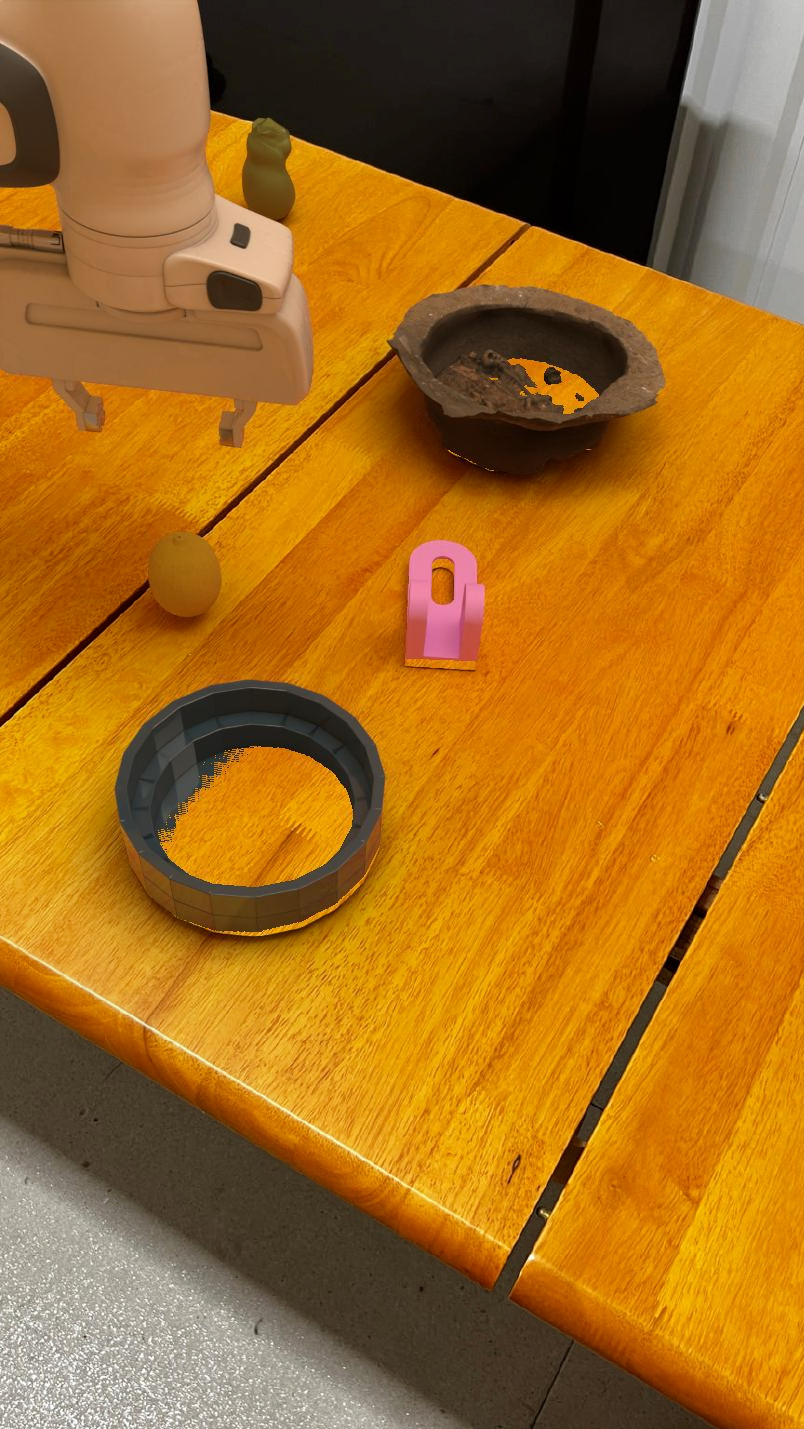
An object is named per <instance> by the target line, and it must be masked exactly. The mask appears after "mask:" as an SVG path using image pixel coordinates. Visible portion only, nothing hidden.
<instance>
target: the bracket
mask: <svg viewBox="0 0 804 1429" xmlns="http://www.w3.org/2000/svg"><path fill="white" fill-rule="evenodd" d="M437 559H448V560H450V561H451V562H453V564H454V600H453V599H452V601H451V602H450V603H447V604H440V603H436V602H435V601H434V600H433V598H432V582H433V580H432V579H433V578H432V576H433V571H432V563H433V562H434V561H435V560H437ZM408 576H409V584H408V583H407V600H408V607H407V606H406V608H407V609H406V623H407V630H406V629H405V646H406V653H405V652H404V660H405V659H429V660H455V661H477V662H478V656H479V651H480V643H481V637H482V630H483V625H484V624H483V623H484V615H485V596H486V594H485V592H486V590H485V589H486V588H485V584H484V583H478V563H477V560H476V557H475V556H474V554H473V553H472V552H471V551H470V549H468V548H466V547H465V546H464V545H462V544H460V543H457V542H454V541H450V540H444V539H443V540H442V539H437V540H430V541H427V542H424V543H422V544H420V545H419V546H417V547H416V548H415V549H414V550H413V552H412V553H411V555H410V556H409V564H408Z"/></svg>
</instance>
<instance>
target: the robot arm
mask: <svg viewBox="0 0 804 1429" xmlns="http://www.w3.org/2000/svg"><path fill="white" fill-rule="evenodd" d="M201 20H202V19H201V14H200V9H199V4H198V0H0V188H2V189H3V188H4V189H25V188H26V189H27V188H30V189H31V188H37V187H44V186H47V185H50V186H51V187H52V188H53V191H54V194H55V200H56V204H57V210H58V217H59V222H60V229H61V230H55V229H44V228H22V227H21V228H20V227H14V226H13V225H10V224H2V223H0V369H1V370H2V371H3V372H4V373H6V374H9V375H16V376H24V377H34V378H43V379H51V384H52V389H53V391H55V393H56V394H57V395H58V396H59V397H60V398H61V400H62V401H63V402H64V403H65V404H66V405H67V406H68V407H69V408H70V410H71V411H72V412H74V415H75V420H76V425H77V429H78V431H82V432H91V433H100V434H101V433H102V432H103V426H104V425H105V423H106V411H105V409H104V406H105V404H104V398H103V396H96V395H91V394H90V393H89V391H88V389H86V387H85V386H84V384H83V383H89V384H96V385H106V386H107V385H108V386H114V387H124V388H133V389H142V390H151V391H159V392H168V393H176V394H185V395H186V394H187V395H195V396H204V397H213V398H221V399H231V400H233V404H234V406H233V407H234V411H231V410H222V411H221V415H220V420H219V424H218V436H219V440H218V441H219V446H220V447H229V448H235V449H236V448H237V449H242V448H243V445H244V444H243V443H244V441H245V440H244V439H245V433H246V431H245V430H246V428H245V427H246V426H247V424H248V423H249V421H250V420H251V419H252V418H253V416H255V414H256V412H257V407H258V403H265V404H266V403H267V404H275V405H282V406H283V405H284V406H298V405H299V404H300V403H301V402H302V401H304V399H305V398H306V397H307V396H308V395H309V394H310V392H311V387H312V383H313V376H314V367H315V365H314V364H315V360H314V359H315V352H314V350H315V349H314V335H313V326H312V319H311V318H312V317H311V311H310V306H309V300H308V297H307V293H306V290H305V288H304V285H303V283H302V282H301V280H300V279H299V277H298V276H297V275H296V274H295V273H294V272H293V270H294V258H295V245H294V244H295V242H294V235H293V232H292V231H291V229H290V228H288V227H287V225H284V224H282V223H280V222H278V221H277V220H276V221H273V220H271V219H269V218H266V217H264V216H262V215H259V214H257V213H254V212H252V211H250V209H249V208H248V209H247V208H245V207H243V206H241V205H239V204H237V203H234V202H233V201H230V200H229V199H227V198H224V197H223V196H221V195H219V194H218V193H216V190H215V189H216V188H215V184H214V183H215V182H214V180H213V176H212V174H211V171H210V168H209V166H208V161H207V160H208V159H207V154H206V150H207V141H208V138H209V137H208V135H209V133H210V129H211V119H212V118H211V115H212V114H211V98H210V88H209V86H210V84H209V74H208V65H207V57H206V56H207V55H206V48H205V39H204V33H203V32H204V31H203V26H202V21H201Z"/></svg>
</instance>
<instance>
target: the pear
mask: <svg viewBox="0 0 804 1429" xmlns="http://www.w3.org/2000/svg"><path fill="white" fill-rule="evenodd" d="M290 135H291V134H290V131H289V129H287V128H285V127H284V126H282V125H281V124H280V123H278V122H276V121H275V120H273V119H272V118H270V117H267V118H262V117H258V118H256V119H255V120H253V121H252V123H251V131H250V132H248V133H247V137H246V142H245V143H246V144H245V146H246V147H245V150H246V156H245V160H244V163H243V164H242V170H241V187H242V188H241V189H242V194H243V199H244V201H245V204H246V206H247V208H248V210H250V211H252V212H254V213H257V214H259V215H262V216H264V217H266V218H269V219H271V220H273V221H276V222H277V221H279V220H282V219H283V218H285V217H286V216H288V214H290V212H291V211H292V209H293V207H294V205H295V202H296V188H295V185H294V182H293V180H292V178H291V176H290V173H289V172H288V170H287V160H288V158H289V157H290V155H291V152H292V149H293V148H292V141H291V136H290Z"/></svg>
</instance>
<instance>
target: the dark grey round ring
mask: <svg viewBox="0 0 804 1429" xmlns="http://www.w3.org/2000/svg"><path fill="white" fill-rule="evenodd" d="M250 746H257V747H258V746H261V747H273V748H277V747H279V748H285V749H289V750H291V751H295V752H298V753H301V754H305V755H306V756H310V757H311V758H313V759H314V760H315V761H317V762H319V763H321V764H322V765H323V766H324V767H326V768H328V769H329V770H331V771H332V772H333V773H334V774H335V775H336V777H337V778H338V780H339V781H340V783H341V784H342V785H343V786H344V788H346V790H347V792H348V795H349V798H350V802H351V805H352V809H353V820H352V827H351V829H350V831H349V833H348V834H347V836H346V838H345V840H344V842H343V844H342V846H341V848H340V850H339V851H338V852H337V853H336V854H335V855H334V856H333V857H332V858H331V859H330V860H329V861H328V862H327V863H326V864H324V865H323V866H321V867H319V868H317V869H315V870H313V871H311V872H309V873H307V874H305V875H303V876H301V877H299V878H297V879H295V880H291V881H285V882H280V883H275V884H270V885H264V886H259V887H246V886H234V885H222V884H212V883H210V882H207V881H204V880H202V879H199V878H196V877H194V876H191V875H189V874H188V873H186V872H185V871H184V870H183V869H181V868H180V867H179V866H177V865H176V864H175V863H174V862H172V861H171V860H170V859H169V858H168V856H167V854H166V853H165V851H164V850H163V848H162V846H163V845H162V846H161V845H160V842H165V841H169V840H164V841H161V839H159V838H161V837H159V836H161V835H164V834H161V833H164V832H161V831H164V830H165V832H171V831H174V830H171V829H175V828H176V823H175V822H176V819H175V817H174V816H175V814H176V815H182V814H186V813H182V812H186V811H182V810H186V809H182V808H185V807H182V806H185V805H182V804H185V803H188V801H192V800H195V799H192V800H188V799H191V798H195V797H191V796H195V795H193V794H195V792H198V791H200V790H199V789H201V788H202V787H205V788H210V787H206V786H210V785H206V784H210V783H206V782H214V781H210V780H214V779H207V780H208V781H206V780H202V779H206V778H202V777H206V776H202V775H207V776H208V777H207V778H210V777H209V776H214V774H216V775H221V774H217V773H221V772H217V771H222V770H218V769H222V768H218V767H214V766H218V765H214V764H218V763H214V762H221V763H227V761H230V760H227V759H230V758H227V757H231V756H228V755H231V754H228V753H236V752H231V751H236V750H232V749H237V748H238V749H241V748H249V747H250ZM250 748H254V747H250ZM225 750H226V751H225ZM228 750H230V751H228ZM241 750H244V749H241ZM224 752H228V753H224ZM239 752H244V751H240V750H239ZM224 754H227V755H224ZM237 754H240V753H237ZM241 754H243V753H241ZM215 755H216V756H215ZM232 755H235V754H232ZM247 755H248V754H247ZM223 756H225V757H223ZM235 756H239V755H235ZM235 756H234V758H239V757H235ZM242 756H243V755H242ZM215 757H216V758H215ZM219 758H220V759H219ZM223 758H224V759H223ZM232 760H235V759H232ZM236 760H239V759H236ZM204 762H205V763H204ZM231 762H234V761H231ZM236 762H239V761H236ZM211 763H212V764H211ZM203 764H204V765H203ZM220 765H222V764H220ZM223 765H226V764H223ZM228 766H229V765H228ZM219 767H222V766H219ZM223 767H224V766H223ZM214 768H218V769H214ZM227 768H229V767H227ZM214 770H217V771H214ZM214 772H216V773H214ZM225 772H226V771H225ZM225 774H226V773H225ZM199 776H200V777H199ZM216 777H217V776H216ZM211 778H214V777H211ZM202 781H206V782H202ZM202 783H206V784H202ZM202 785H206V786H202ZM213 787H214V786H213ZM195 788H198V789H195ZM385 789H386V773H385V770H384V767H383V763H382V760H381V756H380V753H379V750H378V746H377V744H376V742H375V741H374V740H373V739H372V737H371V736H370V735H369V733H368V732H367V730H366V729H365V728H364V727H363V725H362V724H361V723H360V721H359V720H358V718H357V717H356V716H355V715H353V713H350V712H349V711H348V710H346V709H345V708H343V707H342V706H340V705H339V704H337V703H336V702H335V701H333V700H332V699H331V698H329V697H327V696H325V695H324V694H321V693H319V692H315V691H313V690H310V689H307V688H304V687H301V686H299V685H296V684H292V683H290V682H283V681H271V680H261V679H241V680H236V681H228V682H221V683H215V684H210V685H207V686H205V687H202V688H200V689H198V690H196V691H193V692H191V693H188V694H186V695H183V696H181V697H178V698H176V699H174V700H172V701H171V702H170V703H168V704H167V705H166V706H164V707H163V708H162V709H160V710H159V711H158V712H157V713H155V714H154V715H153V716H151V717H150V718H149V719H147V720H146V721H145V722H144V723H143V724H142V725H141V726H140V728H139V729H138V731H137V732H136V734H135V736H133V738H132V740H131V741H130V742H129V744H128V745H127V746H126V749H125V750H124V752H122V756H121V760H120V764H119V768H118V772H117V776H116V780H115V782H114V790H113V791H114V795H115V796H114V797H115V802H116V809H117V816H118V822H119V823H118V824H119V826H120V831H121V835H122V838H123V842H124V848H125V850H126V854H127V858H128V864H129V866H130V867H131V869H132V871H133V872H134V874H135V876H136V878H137V879H138V881H139V882H140V884H141V886H142V888H143V890H144V891H145V893H146V895H148V897H149V898H151V899H152V898H153V899H154V900H153V899H152V900H153V901H154V902H156V901H157V902H158V903H159V904H158V903H157V902H156V903H157V904H158V905H159V906H161V905H162V906H163V907H164V908H165V909H164V908H163V907H162V906H161V907H162V908H163V909H164V910H166V909H167V910H168V911H169V912H171V913H172V914H173V915H175V916H176V917H178V918H179V919H182V920H186V921H187V922H192V923H194V924H197V925H200V926H202V927H205V928H209V929H211V930H214V931H215V930H216V931H222V932H224V931H233V932H237V931H239V932H244V931H245V932H262V931H263V930H267V929H269V930H270V929H272V928H276V927H280V926H284V925H290V924H293V923H297V922H298V923H299V922H302V921H304V920H306V919H308V918H309V917H311V916H313V915H315V914H316V913H318V912H321V911H323V910H325V909H328V908H329V907H331V906H333V905H335V904H336V903H338V901H339V900H340V899H342V897H343V896H345V895H346V894H347V893H348V892H349V891H350V889H352V888H353V887H354V886H355V885H356V884H357V883H358V882H359V881H360V880H361V879H362V878H363V877H364V875H365V874H366V872H367V870H368V868H369V866H370V864H371V862H372V860H373V858H374V856H375V854H376V852H377V850H378V848H379V846H380V847H381V841H382V830H383V819H384V818H383V817H384V804H385V803H384V802H385ZM195 790H198V791H195ZM205 790H206V789H205ZM198 793H199V792H198ZM198 795H199V794H198ZM188 797H191V798H188ZM198 797H199V796H198ZM198 799H199V798H198ZM182 802H185V803H182ZM192 802H195V801H192ZM178 803H179V804H178ZM178 805H180V806H178ZM186 805H188V804H186ZM178 807H180V808H178ZM186 807H188V806H186ZM178 809H181V810H178ZM187 809H188V808H187ZM178 811H181V812H178ZM187 812H188V810H187ZM179 813H182V814H179ZM169 815H170V816H169ZM169 817H171V818H169ZM176 817H179V816H176ZM382 818H383V819H382ZM177 819H179V818H177ZM178 821H179V820H178ZM166 822H167V823H166ZM166 824H167V825H166ZM174 827H175V828H174ZM167 828H168V829H167ZM161 829H164V830H161ZM381 829H382V830H381ZM158 830H159V831H158ZM167 830H170V831H167ZM158 832H160V833H158ZM171 833H174V832H171ZM171 833H170V834H171ZM158 834H161V835H158ZM166 834H168V833H166ZM173 835H174V834H173ZM168 836H171V835H167V836H165V837H168ZM162 837H164V836H162ZM168 838H172V837H168ZM163 839H165V838H163ZM170 840H172V839H170ZM380 840H381V841H380ZM171 842H172V841H171ZM161 844H162V843H161ZM165 850H167V849H165ZM166 852H167V851H166ZM167 910H166V911H167ZM168 911H167V912H168ZM169 912H168V913H169ZM171 913H170V914H171ZM172 914H171V915H172ZM173 915H172V916H173ZM176 917H175V918H176ZM179 919H178V920H179ZM187 922H186V923H187Z"/></svg>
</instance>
